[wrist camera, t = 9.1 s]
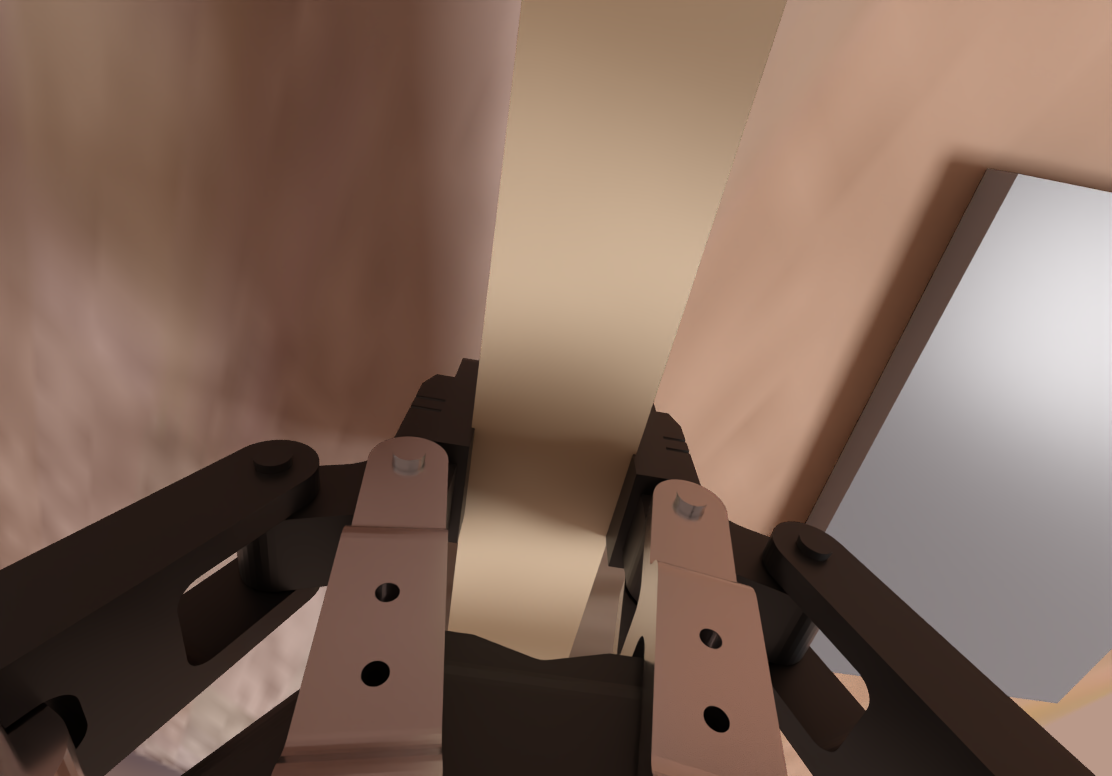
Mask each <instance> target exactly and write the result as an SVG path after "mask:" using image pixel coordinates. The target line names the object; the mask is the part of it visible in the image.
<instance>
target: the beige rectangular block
mask: <svg viewBox="0 0 1112 776" xmlns="http://www.w3.org/2000/svg"><path fill="white" fill-rule="evenodd" d="M786 2H787V0H522V2H521V11H520V19H519V28H518V36H517V45H516V53H515V62H514V70H513V79H512V87H511V96H510V105H509V113H508V122H507V130H506V139H505V147H504V156H503V164H502V173H501V181H500V190H499V198H498V207H497V215H496V224H495V232H494V241H493V249H492V258H491V266H490V275H489V283H488V292H487V301H486V309H485V318H484V326H483V335H482V343H481V352H480V360H479V369H478V377H477V386H476V394H475V403H474V411H473V420H472V428H475V432H474V440H473V448H472V456H471V464H470V473H469V481H468V489H467V497H466V506H465V514H464V519H463V523H462V526H461V530H460V534H459V538H458V542H457V543H452V542H448V552H447V583H446V615H445V630H446V631H453V632H460V633H467V634H474V635H476V636H479V637H482V638H484V639H487V640H489V641H492V642H494V643H497V644H500V645H502V646H505V647H507V648H510V649H512V650H515V651H518V652H520V653H523V654H525V655H528V656H530V657H533V658H536V659H540V660H552V659H561V658H570V657H580V656H589V655H598V654H608V653H611V654H613V645H614V636H615V628H616V619H617V610H618V602H619V595H620V591H621V588H622V585H623V582H624V579H625V572H624V569H623V568H616V567H609V566H608V559H607V547H606V535H607V532H608V529H609V525H610V522H611V519H612V516H613V513H614V510H615V507H616V504H617V501H618V498H619V495H620V492H621V489H622V486H623V483H624V480H625V477H626V474H627V471H628V468H629V464H630V461H631V458H632V455H633V454H636V453H637V450H638V447H639V444H640V441H641V438H642V435H643V432H644V429H645V426H646V423H647V420H648V417H649V414H650V411H651V408H652V405H653V402H654V399H655V396H656V393H657V390H658V387H659V384H660V381H661V378H662V375H663V372H664V369H665V366H666V363H667V360H668V357H669V354H670V351H671V348H672V345H673V342H674V339H675V336H676V333H677V330H678V327H679V324H680V321H681V318H682V315H683V312H684V309H685V306H686V303H687V300H688V297H689V294H690V291H691V288H692V285H693V282H694V279H695V276H696V273H697V270H698V267H699V264H700V261H701V258H702V255H703V252H704V249H705V246H706V243H707V240H708V237H709V234H710V231H711V228H712V225H713V222H714V219H715V216H716V213H717V210H718V207H719V204H720V201H721V198H722V195H723V192H724V189H725V186H726V183H727V180H728V177H729V174H730V171H731V168H732V165H733V162H734V159H735V156H736V153H737V150H738V147H739V144H740V140H741V137H742V134H743V131H744V128H745V125H746V122H747V119H748V116H749V113H750V110H751V107H752V104H753V101H754V98H755V95H756V92H757V89H758V86H759V83H760V80H761V77H762V74H763V71H764V68H765V65H766V62H767V59H768V56H769V53H770V50H771V47H772V44H773V41H774V38H775V35H776V32H777V29H778V26H779V23H780V20H781V17H782V14H783V11H784V8H785V5H786Z"/></svg>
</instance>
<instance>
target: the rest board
mask: <svg viewBox="0 0 1112 776" xmlns="http://www.w3.org/2000/svg"><path fill="white" fill-rule="evenodd" d="M806 524H808V525H810V526H813V527H816V528H818V529H820V530H822V531H824V532H825V533H827V534H829V535H830V536H832V537H833V538H834V539H836V540H837V541H838V542H839V543H840V544H842V545H843V546H844V547H845V548H846V549H847V550H848V551H849V552H850V553H851V554H853V555H854V556H855V557H856V558H857V559H858V560H859V561H860V562H861V563H862V564H864V565H865V566H866V567H867V568H868V569H869V570H870V571H871V572H872V573H873V574H875V575H876V576H877V577H878V578H879V579H880V580H881V581H882V582H883V583H884V584H885V585H887V586H888V587H889V588H890V589H891V590H892V591H893V592H894V593H895V594H896V595H898V596H899V597H900V598H901V599H902V600H903V601H904V602H905V603H906V604H907V605H909V606H910V607H911V608H912V609H913V610H914V611H915V612H916V613H917V614H918V615H920V616H921V617H922V618H923V619H924V620H925V621H926V622H927V623H928V624H929V625H931V626H932V627H933V628H934V629H935V630H936V631H937V632H938V633H939V634H940V635H942V636H943V637H944V638H945V639H946V640H947V641H948V642H949V643H950V644H951V645H952V646H954V647H955V648H956V649H957V650H958V651H959V652H960V653H961V654H962V655H963V656H965V657H966V658H967V659H968V660H969V661H970V662H971V663H972V664H973V665H974V666H976V667H977V668H978V669H979V670H980V671H981V672H982V673H983V674H984V675H985V676H987V677H988V678H989V679H990V680H991V681H992V682H993V683H994V684H995V685H996V686H998V687H999V688H1000V689H1001V690H1002V691H1003V692H1004V693H1005V694H1006V695H1007V696H1009V697H1015V698H1022V699H1030V700H1037V701H1044V702H1051V703H1058V702H1059V701H1060V700H1061V699H1062V698H1063V697H1064V696H1065V695H1066V694H1067V693H1068V692H1069V691H1070V690H1071V689H1072V688H1073V687H1074V686H1075V685H1076V684H1077V683H1078V682H1079V681H1080V680H1081V679H1082V678H1083V677H1084V676H1085V675H1086V674H1087V673H1088V672H1089V671H1090V670H1091V669H1092V668H1093V667H1094V666H1095V665H1096V664H1097V663H1098V662H1099V661H1100V660H1101V659H1102V658H1103V657H1104V656H1105V655H1106V654H1107V653H1108V652H1109V651H1110V650H1111V649H1112V193H1111V192H1106V191H1101V190H1096V189H1091V188H1086V187H1081V186H1076V185H1071V184H1067V183H1062V182H1057V181H1052V180H1047V179H1042V178H1037V177H1032V176H1027V175H1022V174H1017V173H1011V172H1005V171H999V170H993V169H988V168H987V170H986V172H985V174H984V176H983V178H982V180H981V182H980V184H979V186H978V188H977V190H976V192H975V194H974V196H973V198H972V200H971V202H970V204H969V205H968V207H967V209H966V211H965V213H964V215H963V217H962V219H961V221H960V223H959V225H958V227H957V229H956V231H955V233H954V235H953V237H952V239H951V241H950V243H949V245H948V246H947V248H946V250H945V252H944V254H943V256H942V258H941V260H940V262H939V264H938V266H937V268H936V270H935V272H934V274H933V276H932V278H931V280H930V282H929V284H928V286H927V287H926V289H925V291H924V293H923V295H922V297H921V299H920V301H919V303H918V305H917V307H916V309H915V311H914V313H913V315H912V317H911V319H910V321H909V323H908V325H907V326H906V328H905V330H904V332H903V334H902V336H901V338H900V340H899V342H898V344H897V346H896V348H895V350H894V352H893V354H892V356H891V358H890V360H889V362H888V364H887V366H886V367H885V369H884V371H883V373H882V375H881V377H880V379H879V381H878V383H877V385H876V387H875V389H874V391H873V393H872V395H871V397H870V399H869V401H868V403H867V405H866V407H865V408H864V410H863V412H862V414H861V416H860V418H859V420H858V422H857V424H856V426H855V428H854V430H853V432H852V434H851V436H850V438H849V440H848V442H847V444H846V446H845V448H844V449H843V451H842V453H841V455H840V457H839V459H838V461H837V463H836V465H835V467H834V469H833V471H832V473H831V475H830V477H829V479H828V481H827V483H826V485H825V487H824V488H823V490H822V492H821V494H820V496H819V498H818V500H817V502H816V504H815V506H814V508H813V510H812V512H811V514H810V516H809V518H808V520H807V522H806ZM810 647H811V648H812V649H813V650H814V652H815V653H816V654H817V655H818V656H819V657H820V658H821V660H822V661H823V662H824V663H825V664H826V665H827V667H828V668H829V669H830V670H831V671H832V672H835V673H842V674H850V675H857V676H861V675H860V674H859V673H858V672H857V670H856V669H855V668H854V667H853V666H852V665H851V664H850V663H849V662H848V660H847V659H846V658H845V657H844V656H843V655H842V654H841V653H840V652H839V650H838V649H837V648H836V647H835V646H834V645H833V644H832V643H831V642H830V640H829V639H828V638H827V637H826V636H825V635H824V634H823V633H822V632H821V630H820V629H819V631H818V633H817V634H816V636H815V638H814V639H813V641H812V643H811V644H810Z"/></svg>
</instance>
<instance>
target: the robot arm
mask: <svg viewBox="0 0 1112 776" xmlns="http://www.w3.org/2000/svg"><path fill="white" fill-rule="evenodd" d="M478 369H479V361H478V360H472V359H467V358H463V359H462V362H461V364H460V367H459V369H458V372H457V374H456V376H455V377H450V376H444V375H438V374H437V375H435V376H433V377H432V378H430V379H429V380H427V381H425V382H424V383H422V385H421V387H420V389H419V391H418V393H417V395H416V398H415V399H414V401H413V403H412V405H411V408H410V409H409V410H408V412H407V414H406V416H405V418H404V420H403V422H402V424H401V426H400V428H399V430H398V432H397V434H396V436H395V437H394V438H392V439H388V440H386V441H383V442H381V443H379V444H378V445H376V446H375V447H374V448H373V449H372V450H371V452H370V454H369V456H368V460H367V461H364V462H360V463H355V464H345V465H325V466H319V457H318V454H317V453H316V451H315V450H313V449H312V448H311V447H309V446H308V445H305V444H303V443H300V442H296V441H290V440H270V441H264V442H259V443H255V444H252V445H249V446H247V447H245V448H243V449H241V450H239V451H237V452H235V453H233V454H231V455H229V456H227V457H225V458H223V459H221V460H219V461H217V462H215V463H213V464H211V465H209V466H207V467H205V468H203V469H201V470H199V471H197V472H195V473H193V474H191V475H189V476H187V477H185V478H183V479H181V480H179V481H177V482H175V483H173V484H171V485H169V486H167V487H165V488H163V489H161V490H159V491H157V492H155V493H153V494H151V495H149V496H147V497H145V498H143V499H141V500H139V501H137V502H135V503H133V504H131V505H129V506H127V507H125V508H123V509H121V510H119V511H117V512H115V513H113V514H111V515H109V516H107V517H105V518H103V519H101V520H99V521H97V522H95V523H93V524H91V525H89V526H87V527H85V528H83V529H81V530H79V531H77V532H75V533H73V534H71V535H69V536H67V537H65V538H63V539H61V540H59V541H57V542H55V543H53V544H51V545H49V546H47V547H45V548H43V549H41V550H39V551H37V552H35V553H33V554H31V555H29V556H27V557H25V558H23V559H21V560H19V561H17V562H15V563H13V564H11V565H9V566H7V567H5V568H3V569H1V570H0V776H104V775H106V774H107V773H108V772H109V771H110V770H111V769H112V768H114V767H115V766H116V765H117V764H118V763H120V762H121V760H123V759H124V758H125V757H127V756H128V755H129V754H130V753H131V752H132V751H134V750H135V749H136V748H137V747H138V746H139V745H141V744H142V743H143V742H144V741H145V740H146V739H148V738H149V737H150V736H151V735H152V734H153V733H155V732H156V731H157V730H158V729H159V728H160V727H162V726H163V725H164V724H165V723H166V722H167V721H169V720H170V719H171V718H172V717H173V716H174V715H176V714H177V713H178V712H179V711H180V710H181V709H183V708H184V707H185V706H186V705H187V704H188V703H190V702H191V701H192V700H193V699H194V698H195V697H197V696H198V695H199V694H200V693H201V692H202V691H204V690H205V689H206V688H207V687H208V686H209V685H211V684H212V683H213V682H214V681H215V680H216V679H218V678H219V677H220V676H221V675H222V674H223V673H225V672H226V671H227V670H228V669H229V668H230V667H232V666H233V665H234V664H235V663H236V662H237V661H239V660H240V659H241V658H242V657H243V656H244V655H246V654H247V653H248V652H249V651H250V650H252V649H253V648H254V647H255V646H256V645H257V644H259V643H260V642H261V641H262V640H263V639H264V638H266V637H267V636H268V635H269V634H270V633H271V632H273V631H274V630H275V629H276V628H277V627H278V626H280V625H281V624H282V623H283V622H284V621H285V620H287V619H288V618H289V617H290V616H291V615H292V614H294V613H295V612H296V611H297V610H298V609H299V608H301V607H302V606H303V605H304V604H305V603H306V602H308V601H309V600H310V599H311V598H312V597H313V596H314V595H315V594H316V592H317V591H318V590H319V588H320V587H322V586H327V590H326V593H325V597H324V601H323V605H322V608H321V612H320V616H319V620H318V623H317V627H316V631H315V635H314V638H313V642H312V646H311V650H310V654H309V657H308V661H307V665H306V669H305V672H304V676H303V680H302V684H301V687H300V689H299V690H298V691H296V692H295V693H293V694H292V695H291V696H289V697H288V698H287V699H285V700H284V701H283V702H281V703H280V704H278V705H277V706H276V707H274V708H273V709H272V710H270V711H269V712H267V713H266V714H265V715H263V716H262V717H261V718H259V719H258V720H257V721H255V722H254V723H252V724H251V725H250V726H248V727H247V728H246V729H244V730H243V731H241V732H240V733H239V734H237V735H236V736H235V737H233V738H232V739H230V740H229V741H228V742H226V743H225V744H224V745H222V746H221V747H220V748H218V749H217V750H215V751H214V752H213V753H211V754H210V755H209V756H207V757H206V758H204V759H203V760H202V761H200V762H199V763H198V764H196V765H195V766H194V767H192V768H191V769H189V770H188V771H187V772H185V773H184V774H183V775H181V776H788V775H787V769H786V764H785V758H784V752H783V746H782V740H781V735H780V730H781V731H782V733H783V734H784V736H785V737H786V738H787V740H788V741H789V743H790V744H791V745H792V747H793V748H794V750H795V751H796V752H797V754H798V755H799V757H800V758H801V759H802V761H803V762H804V764H805V765H806V766H807V768H808V769H809V771H810V772H811V773H812V775H813V776H1095V775H1094V774H1093V773H1092V772H1091V771H1090V770H1089V769H1088V768H1087V767H1085V766H1084V765H1083V764H1082V763H1081V762H1080V761H1079V760H1078V759H1076V757H1074V756H1073V755H1072V754H1071V753H1070V752H1069V751H1068V750H1067V749H1065V747H1063V746H1062V745H1061V744H1060V743H1059V742H1058V741H1057V740H1056V739H1055V738H1054V737H1052V736H1051V735H1050V734H1049V733H1048V732H1047V731H1046V730H1045V729H1044V728H1043V727H1041V726H1040V725H1039V724H1038V723H1037V722H1036V721H1035V720H1034V719H1033V718H1032V717H1030V716H1029V715H1028V714H1027V713H1026V712H1025V711H1024V710H1023V709H1022V708H1021V707H1020V706H1018V705H1017V704H1016V703H1015V702H1014V701H1013V700H1012V699H1011V698H1010V697H1009V696H1007V695H1006V694H1005V693H1004V692H1003V691H1002V690H1001V689H1000V688H999V687H998V686H996V685H995V684H994V683H993V682H992V681H991V680H990V679H989V678H988V677H987V676H985V675H984V674H983V673H982V672H981V671H980V670H979V669H978V668H977V667H976V666H974V665H973V664H972V663H971V662H970V661H969V660H968V659H967V658H966V657H965V656H963V655H962V654H961V653H960V652H959V651H958V650H957V649H956V648H955V647H954V646H952V645H951V644H950V643H949V642H948V641H947V640H946V639H945V638H944V637H943V636H942V635H940V634H939V633H938V632H937V631H936V630H935V629H934V628H933V627H932V626H931V625H929V624H928V623H927V622H926V621H925V620H924V619H923V618H922V617H921V616H920V615H918V614H917V613H916V612H915V611H914V610H913V609H912V608H911V607H910V606H909V605H907V604H906V603H905V602H904V601H903V600H902V599H901V598H900V597H899V596H898V595H896V594H895V593H894V592H893V591H892V590H891V589H890V588H889V587H888V586H887V585H885V584H884V583H883V582H882V581H881V580H880V579H879V578H878V577H877V576H876V575H875V574H873V573H872V572H871V571H870V570H869V569H868V568H867V567H866V566H865V565H864V564H862V563H861V562H860V561H859V560H858V559H857V558H856V557H855V556H854V555H853V554H851V553H850V552H849V551H848V550H847V549H846V548H845V547H844V546H843V545H842V544H840V543H839V542H838V541H837V540H836V539H834V538H833V537H832V536H830V535H829V534H827V533H825V532H824V531H822V530H820V529H818V528H816V527H813V526H810V525H808V524H804V523H799V522H783V523H780V524H778V525H777V526H776V527H775V528H774V530H773V532H772V534H771V536H770V537H768V536H765V535H762V534H760V533H757V532H754V531H752V530H749V529H746V528H744V527H741V526H739V525H737V524H735V523H733V522H731V521H729V520H728V514H727V510H726V507H725V505H724V504H723V502H722V501H721V500H720V499H719V498H718V497H717V496H716V495H715V494H714V493H713V492H711V491H710V490H708V489H706V488H705V487H703V486H701V485H700V482H699V479H698V476H697V473H696V470H695V467H694V464H693V461H692V458H691V455H690V454H689V449H688V446H687V444H686V443H685V438H684V435H683V432H682V429H681V426H680V425H679V424H678V423H677V422H676V421H675V420H674V419H673V418H672V417H671V416H670V415H669V414H668V413H662V412H656V410H655V406H654V403H653V405H652V408H651V411H650V414H649V417H648V420H647V423H646V426H645V429H644V432H643V435H642V438H641V441H640V444H639V447H638V450H637V453H636V454H633V455H632V458H631V461H630V464H629V468H628V471H627V474H626V477H625V480H624V483H623V486H622V489H621V492H620V495H619V498H618V501H617V504H616V507H615V510H614V513H613V516H612V519H611V522H610V525H609V529H608V532H607V535H606V547H607V559H608V566H609V567H616V568H623V569H624V572H625V579H624V582H623V585H622V588H621V591H620V595H619V602H618V610H617V619H616V628H615V636H614V645H613V654H611V653H608V654H598V655H589V656H580V657H570V658H561V659H552V660H540V659H536V658H533V657H530V656H528V655H525V654H523V653H520V652H518V651H515V650H512V649H510V648H507V647H505V646H502V645H500V644H497V643H494V642H492V641H489V640H487V639H484V638H482V637H479V636H476V635H474V634H467V633H460V632H453V631H446V630H445V615H446V583H447V552H448V542H452V543H457V542H458V538H459V534H460V530H461V526H462V523H463V519H464V514H465V506H466V497H467V489H468V481H469V473H470V464H471V456H472V448H473V440H474V432H475V428H472V420H473V411H474V403H475V394H476V386H477V377H478ZM236 552H237V556H238V557H237V558H236V559H234V560H233V561H231V562H230V563H228V564H227V565H226V566H224V567H223V568H221V569H220V570H218V571H217V572H215V573H214V574H212V575H211V576H209V577H208V578H206V579H205V580H203V581H202V582H201V583H199V584H198V585H196V586H195V587H193V588H192V589H190V590H189V591H187V592H186V593H184V592H185V590H186V589H187V588H188V587H189V586H190V584H191V583H192V582H194V581H195V580H196V579H197V578H199V577H200V576H201V575H203V574H204V573H206V572H207V571H209V570H210V569H212V568H213V567H215V566H216V565H218V564H219V563H221V562H222V561H224V560H225V559H227V558H228V557H230V556H231V555H233V554H234V553H236ZM183 593H184V594H183ZM819 629H820V630H821V632H822V633H823V634H824V635H825V636H826V637H827V638H828V639H829V640H830V642H831V643H832V644H833V645H834V646H835V647H836V648H837V649H838V650H839V652H840V653H841V654H842V655H843V656H844V657H845V658H846V659H847V660H848V662H849V663H850V664H851V665H852V666H853V667H854V668H855V669H856V670H857V672H858V673H859V674H860V675H861V677H862V678H863V680H864V682H865V684H866V686H867V688H868V692H869V698H870V701H869V707H868V709H867V710H866V711H865V710H864V708H863V707H862V706H861V705H860V704H859V703H858V701H857V700H856V699H855V698H854V697H853V696H852V694H851V693H850V692H849V691H848V690H847V689H846V688H845V686H844V685H843V684H842V683H841V682H840V681H839V679H838V678H837V677H836V676H835V675H834V674H833V672H832V671H831V670H830V669H829V668H828V667H827V665H826V664H825V663H824V662H823V661H822V660H821V658H820V657H819V656H818V655H817V654H816V653H815V652H814V650H813V649H812V648H811V647H810V644H811V643H812V641H813V639H814V638H815V636H816V634H817V633H818V631H819Z"/></svg>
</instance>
